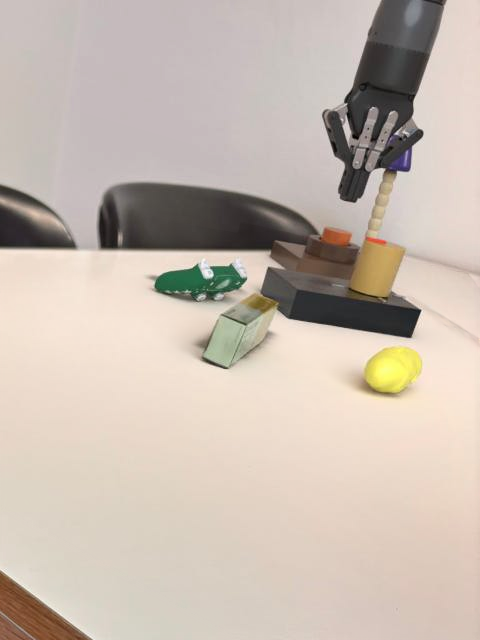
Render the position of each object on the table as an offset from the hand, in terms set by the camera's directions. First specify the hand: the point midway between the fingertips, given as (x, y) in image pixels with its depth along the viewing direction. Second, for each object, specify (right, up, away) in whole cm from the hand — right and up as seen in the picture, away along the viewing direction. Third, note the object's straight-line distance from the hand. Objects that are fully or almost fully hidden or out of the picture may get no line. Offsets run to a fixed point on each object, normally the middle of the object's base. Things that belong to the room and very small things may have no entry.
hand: (347, 200), depth 133 cm
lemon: (-10, -33, -40) cm, 53 cm away
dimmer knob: (-3, -17, -18) cm, 25 cm away
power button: (-1, -4, +3) cm, 5 cm away
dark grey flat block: (-7, -19, -17) cm, 26 cm away
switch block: (-1, -7, +5) cm, 9 cm away
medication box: (-23, -29, -38) cm, 53 cm away
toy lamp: (+6, -3, +15) cm, 17 cm away
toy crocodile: (-22, -19, -21) cm, 36 cm away
